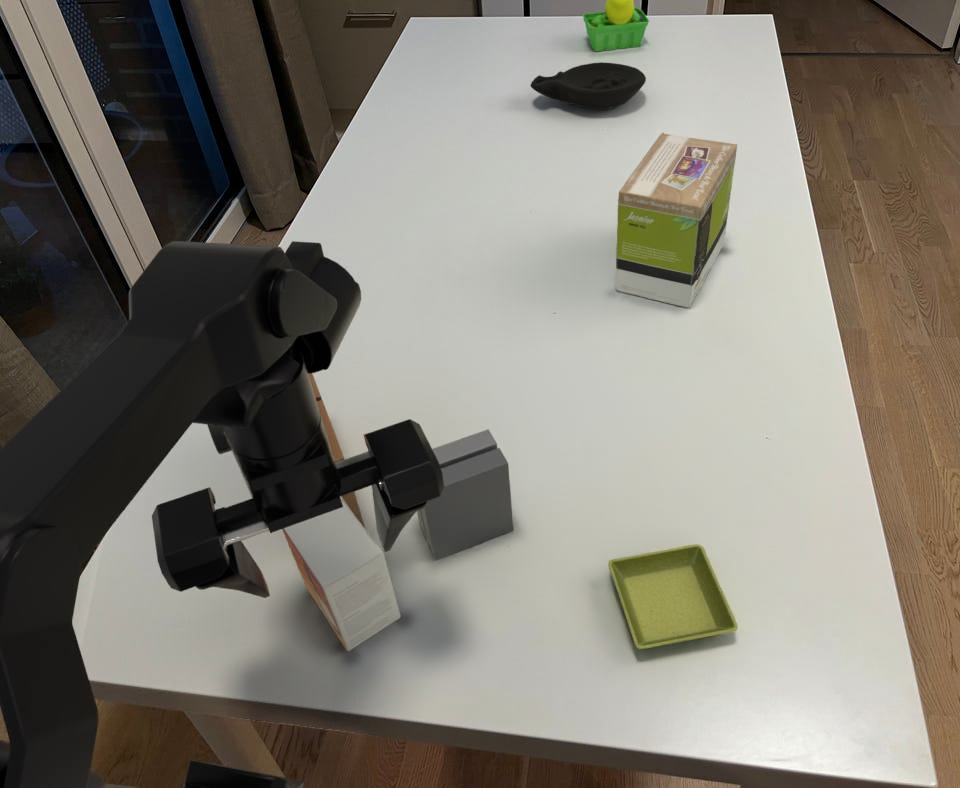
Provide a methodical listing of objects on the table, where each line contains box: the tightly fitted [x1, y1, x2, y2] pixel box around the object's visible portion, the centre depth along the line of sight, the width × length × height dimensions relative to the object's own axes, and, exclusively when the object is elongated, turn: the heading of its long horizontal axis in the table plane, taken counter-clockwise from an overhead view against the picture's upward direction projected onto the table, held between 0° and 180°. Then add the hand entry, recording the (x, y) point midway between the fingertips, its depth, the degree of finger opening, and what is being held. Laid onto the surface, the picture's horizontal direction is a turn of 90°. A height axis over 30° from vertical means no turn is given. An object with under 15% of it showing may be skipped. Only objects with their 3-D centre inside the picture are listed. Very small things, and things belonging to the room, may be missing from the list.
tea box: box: [614, 132, 738, 308], centre depth 98 cm, size 15×10×15 cm
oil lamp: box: [530, 61, 647, 110], centre depth 137 cm, size 15×20×5 cm
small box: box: [281, 496, 401, 652], centre depth 68 cm, size 8×6×10 cm
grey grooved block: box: [416, 429, 514, 561], centre depth 73 cm, size 8×4×10 cm, turn 112°
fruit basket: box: [582, 0, 650, 52], centre depth 151 cm, size 11×9×11 cm
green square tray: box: [607, 543, 739, 650], centre depth 68 cm, size 9×9×2 cm
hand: (326, 569), depth 59 cm, fingers open, 9 cm apart
